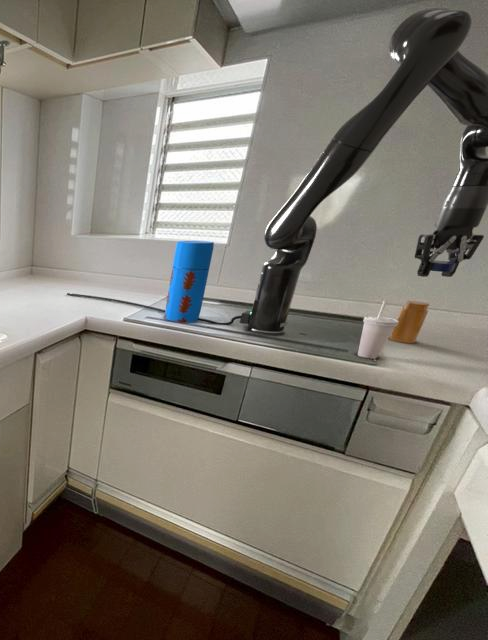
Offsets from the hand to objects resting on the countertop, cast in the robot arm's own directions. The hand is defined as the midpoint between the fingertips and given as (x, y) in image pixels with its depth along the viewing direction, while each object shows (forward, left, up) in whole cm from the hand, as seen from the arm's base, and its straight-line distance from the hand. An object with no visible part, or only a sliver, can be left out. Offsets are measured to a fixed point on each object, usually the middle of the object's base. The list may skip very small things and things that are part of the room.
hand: (434, 276), depth 105 cm
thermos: (-58, -4, -18) cm, 61 cm away
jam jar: (0, +2, -18) cm, 18 cm away
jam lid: (0, 0, +3) cm, 3 cm away
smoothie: (-12, -20, -18) cm, 30 cm away
